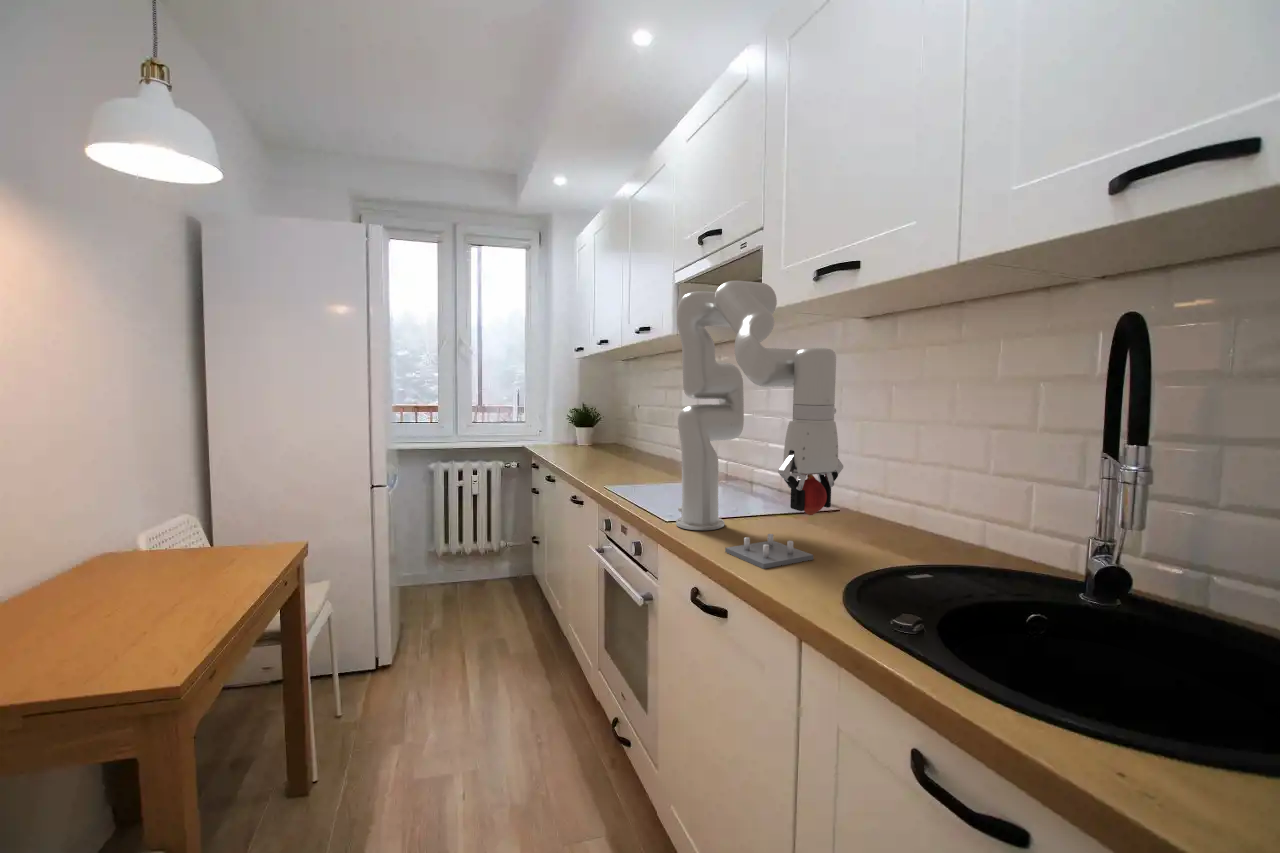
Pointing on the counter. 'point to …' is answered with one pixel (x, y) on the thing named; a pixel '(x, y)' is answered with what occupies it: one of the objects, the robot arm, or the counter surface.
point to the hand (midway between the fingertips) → (810, 507)
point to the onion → (814, 495)
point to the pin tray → (768, 553)
